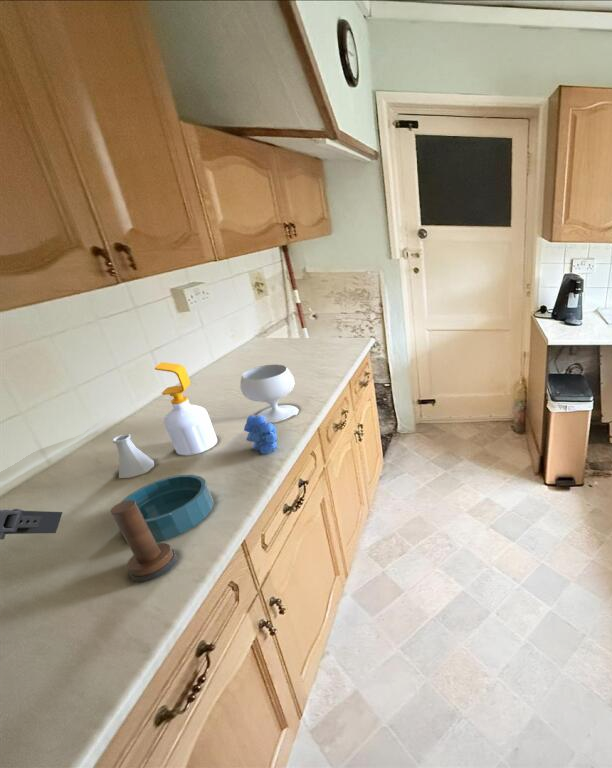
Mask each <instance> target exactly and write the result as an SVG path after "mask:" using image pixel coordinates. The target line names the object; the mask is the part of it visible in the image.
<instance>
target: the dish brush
mask: <svg viewBox="0 0 612 768" xmlns="http://www.w3.org/2000/svg"><path fill="white" fill-rule="evenodd" d="M120 502H121V501H120ZM120 502H119V503H117V504H115V505H114V506H112V507H111V508H110V510H109V512H110V514H111V517H112V519H113V520H114V521H115V523H116V525H117V527H118V529H119V531H120V532H121V534H122V537H123V538H124V540H125V541H126V543H127V545H128V547H129V548H130V551H131V552H132V554H133V555H132V556H131V557H130V558H129V559H128V561H127V565H126V566H127V569H128V570H129V571H128V574H129V576H130V578H131V579H132V580H133V581H134V582H136V583H145V582H150V581H153V580H155V579H157V578H159V577H161V576H163V575H165V574H166V573H168V572H169V571H170V570H171V569H173V567H174V566H175V565H176V563H177V561H178V555H177V554H176V551H175V550H174V549H173V548H172V547H171V545H170V544H169V543H166V542H156V541H155V539H154V537H153V535H152V533H151V531H150V529H149V527H148V525H147V523H146V521H145V519H144V517H143V515H142V513H141V511H140V509H139V507H138V505H137V503H136V502H135V501H134V500H128V501H124V502H121V503H120Z"/></svg>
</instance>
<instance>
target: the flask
mask: <svg viewBox="0 0 612 768" xmlns="http://www.w3.org/2000/svg"><path fill="white" fill-rule="evenodd" d="M112 443H113V444H114V445H116V447H117V451H118V457H119V458H118V459H119V460H118V463H119V464H118V479H128V478H129V479H130V478H134V477H138V476H141V475H143V474H146V473H148V472H149V471H150V470H151V469H152V468H154V467H155V463H154V462H155V461H154V460H153V459H152V458H151V457H149V456H148V455H147V454H145V453H144V452H143V451H142V450H140V449H139V448H138V447H137V446H136V445H135V444H134V443H133V441H132V439H131V434H130V433H127V434H121V435H117V436H115V437H113V438H112Z"/></svg>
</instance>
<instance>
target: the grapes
mask: <svg viewBox="0 0 612 768" xmlns="http://www.w3.org/2000/svg"><path fill="white" fill-rule="evenodd" d="M265 420H266V418H265V417H263V416H260V415H258V414H257V415H254V414H251V415H249V416H248V417H247V418H246V423H245V424H244V427H243V431H245V432H247V436H246V441H248V442H250V443H253V445H252V449H253V450H255V451H259V453H260V454H262V455H267V454H270V453H273V452H275V451H276V450H277V448H278V442H277V440H278V434H277V430H278V429H277V428H278V427H277V426H275V425H274V424H273V423H272V422H270V423H269V422H265Z"/></svg>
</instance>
